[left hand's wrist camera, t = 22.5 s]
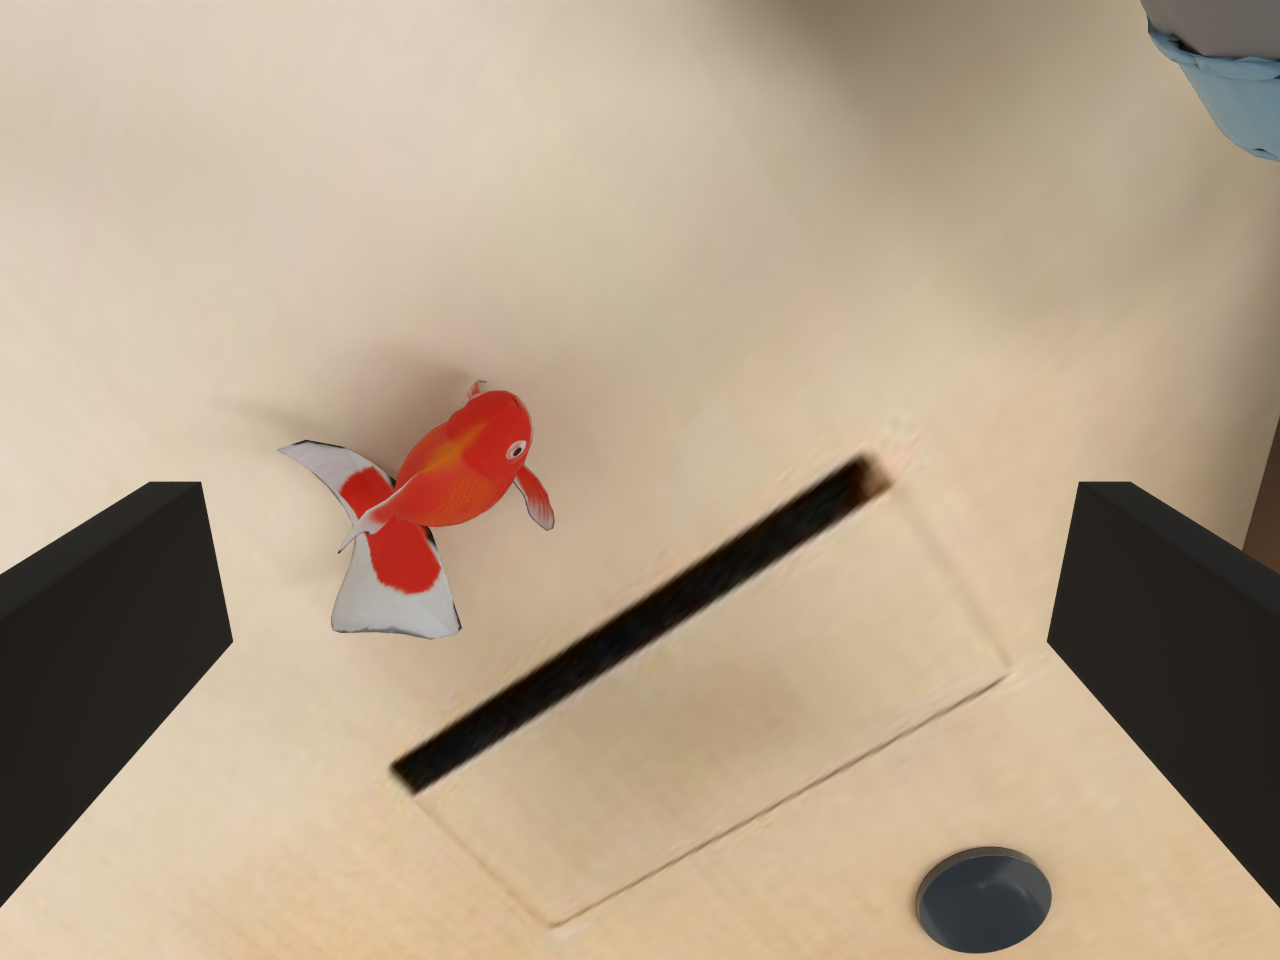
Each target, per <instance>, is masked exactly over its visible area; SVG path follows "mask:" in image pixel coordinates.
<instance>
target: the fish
mask: <svg viewBox="0 0 1280 960" xmlns="http://www.w3.org/2000/svg"><path fill="white" fill-rule="evenodd" d="M478 382H485V383H486V381H483V380H480V379H477V380H476V382H475V383H474V384H473V385H472V387H471V388H470V389H469V391H468V393H467V395H466V398H465V400H464V403H463V406H462V409H460V410H458V411H456V412H455V413H454V414H453V415H452V416H451V418H450V419H449V421H448V422H446V423H444V424H442V425H440V426H438V427H436V428H435V429H433V430H432V431H430V432H429V433H428V434H427V435H426V436H425V437H424V438H423V439H422V440H421V441H420V442H419V443H418V444H417V445H416V446H415V447H414V448H413V450H412V451H411V452H410V454H409V455H408V457H407V458H406V460H405V462H404V464H403V465H402V467H401V469H400V472H399V474H398V478H397V481H395V480H394V479H393V478H392V477H390V476H389V475H388V474H387V473H385V472H384V471H383V470H381V469H380V468H379V467H378V466H376V465H375V464H374V463H372V462H370V461H369V460H367V459H365V458H364V457H362V456H360V455H358V454H356V453H354V452H352V451H350V450H348V449H346V448H344V447H341V446H336V445H330V444H325V443H320V442H315V441H309V440H304V441H301V442H298V443H295V444H292V445H289V446H286V447H283V448H280V449H277V451H279V452H281V453H283V454H285V455H287V456H288V457H290V458H292V459H293V460H295V461H297V462H298V463H300V464H301V465H303V466H304V467H306V468H307V469H309V470H310V471H311V472H312V473H313V474H315V475H316V476H317V477H318V478H319V479H320V480H321V481H322V482H323V483H324V484H326V485H327V486H328V488H329V489H330V490H331V491H332V493H333V494H334V495H335V497H336V498H337V499H338V500H339V502H340V503H341V504H342V505H343V507H344V508H345V510H346V512H347V514H348V516H349V518H350V520H351V522H352V525H353V528H352V530H351V531H350V533H349V535H348V537H347V538H346V540H345V542H344V543H343V545H342V547H341V548H340V550H339V552H338V553H340V552H341V551H342V550H343V549H344V548H345V547H346V546H347V545H348V544H349V543H350V542H351V541H352V540H353V539H354V538H355V537H356V538H355V545H354V550H353V555H352V560H351V565H350V567H349V570H348V572H347V574H346V576H345V579H344V581H343V583H342V586H341V588H340V590H339V593H338V595H337V598H336V602H335V605H334V609H333V612H332V616H331V625H332V628H333V631H337V632H340V633H358V632H381V633H396V634H406V635H411V636H416V637H421V638H426V639H436V638H441V637H446V636H451V635H456V634H457V633H458V632H459V631H460V629H461V628H462V627H461V624H460V621H459V618H458V615H457V612H456V609H455V605H454V602H453V598H452V594H451V590H450V586H449V583H448V580H447V577H446V574H445V571H444V567H443V565H442V562H441V559H440V556H439V553H438V550H437V547H436V544H435V541H434V538H433V535H432V532H431V530H430V529H429V528H428V526H430V527H441V526H450V525H456V524H460V523H463V522H466V521H468V520H471V519H473V518H475V517H476V516H478V515H480V514H482V513H483V512H485V511H487V510H489V509H490V508H491V507H492V506H494V505H495V504H496V503H497V502H498V501H499V500H500V499H501V497H502V496H503V495H504V494H505V492H506V491H507V490H508V488H509V487H510V485H511V484H512V482H514V483H515V485H516V486H517V487H518V489H519V490H520V491H521V493H522V494H523V496H524V498H525V501H526V505H527V509H528V513H529V515H530V516H531V518H532V519H533V520H534V521H535V522H536V523H538V524H539V525H540V526H541V527H542V528H544V529H545V530H551V529H553V526H554V514H553V510H552V508H551V505H550V503H549V498H548V494H547V492H546V490H545V489H544V487H543V486H542V484H541V482H540V481H539V479H538V478H537V477H536V476H535V475H534V474H533V473H532V472H531V471H530V470H529V469H528V468H527V467H526V466H525V465H524V462H525V459H526V456H527V453H528V450H529V448H530V446H531V443H532V438H533V428H532V420H531V416H530V414H529V412H528V410H527V408H526V406H525V404H524V403H523V402H522V401H521V400H520V399H519V398H518V397H517V396H516V395H514V394H512V393H510V392H508V391H487V392H480V391H479V388H478Z"/></svg>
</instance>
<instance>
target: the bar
mask: <svg viewBox="0 0 1280 960" xmlns="http://www.w3.org/2000/svg"><path fill="white" fill-rule="evenodd" d="M1243 552H1244V553H1246V554H1247V555H1249V556H1251V557H1252V558H1254V559H1255V560H1257V561H1259V562H1260V563H1262V564H1263V565H1265V566H1267V567H1268V568H1270V569H1271V570H1273V571H1275V572H1276V573H1278V574H1280V422H1279V425H1278V429H1277V432H1276V436H1275V440H1274V443H1273V447H1272V450H1271V454H1270V457H1269V461H1268V464H1267V468H1266V472H1265V475H1264V479H1263V482H1262V486H1261V489H1260V493H1259V496H1258V500H1257V504H1256V507H1255V511H1254V514H1253V518H1252V521H1251V525H1250V529H1249V532H1248V536H1247V539H1246V543H1245V546H1244V550H1243Z"/></svg>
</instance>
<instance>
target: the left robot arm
mask: <svg viewBox="0 0 1280 960" xmlns="http://www.w3.org/2000/svg"><path fill="white" fill-rule="evenodd" d="M1140 1H1141V3H1142V5H1143V7H1144V9H1145V11H1146V13H1147V19H1148V32H1149V34H1150V36H1151V39H1152V41H1153V42H1154V44H1155V45H1156V46H1157V48H1158V49H1159V50H1160V51H1161V52H1162V53H1163V54H1164V55H1166V56H1167V57H1168V58H1169V59H1170V60H1172V61H1174V62H1176V63H1178V64H1179V65H1180V67H1181V69H1182V70H1183V72H1184V73H1185V75H1186V77H1187V78H1188V80H1189V82H1190V83H1191V85H1192V86H1193V88H1194V90H1195V91H1196V93H1197V94H1198V96H1199V98H1200V99H1201V101H1202V102H1203V104H1204V106H1205V107H1206V109H1207V111H1208V112H1209V114H1210V115H1211V117H1212V119H1213V120H1214V122H1215V123H1216V125H1217V126H1218V128H1219V129H1220V130H1221V131H1222V133H1223V134H1224V135H1225V136H1226V137H1227V138H1228V139H1229V140H1230V141H1232V142H1233V143H1234V144H1236V145H1237V146H1238V147H1240V148H1242V149H1243V150H1245V151H1247V152H1249V153H1250V154H1252V155H1254V156H1258V157H1262V158H1265V159H1269V160H1274V161H1279V162H1280V0H1140ZM232 643H233V638H232V633H231V628H230V623H229V618H228V613H227V608H226V603H225V598H224V593H223V588H222V583H221V579H220V574H219V569H218V564H217V559H216V554H215V549H214V544H213V539H212V534H211V529H210V524H209V519H208V514H207V509H206V504H205V499H204V494H203V489H202V484H201V482H148V483H147V484H145V485H144V486H142V487H140V488H139V489H137V490H136V491H134V492H132V493H131V494H129V495H128V496H126V497H124V498H123V499H121V500H120V501H118V502H116V503H115V504H113V505H111V506H110V507H108V508H107V509H105V510H103V511H102V512H100V513H99V514H97V515H95V516H94V517H92V518H91V519H89V520H87V521H86V522H84V523H83V524H81V525H79V526H78V527H76V528H74V529H73V530H71V531H70V532H68V533H66V534H65V535H63V536H62V537H60V538H58V539H57V540H55V541H54V542H52V543H50V544H49V545H47V546H46V547H44V548H42V549H41V550H39V551H37V552H36V553H34V554H33V555H31V556H29V557H28V558H26V559H25V560H23V561H21V562H20V563H18V564H17V565H15V566H13V567H12V568H10V569H9V570H7V571H5V572H4V573H2V574H0V908H1V906H2V905H3V904H4V903H5V902H6V901H7V900H8V898H9V897H10V896H11V895H12V894H13V893H14V892H15V890H16V889H17V888H18V887H19V886H20V885H21V884H22V882H23V881H24V880H25V879H26V878H27V877H28V876H29V874H30V873H31V872H32V871H33V870H34V869H35V868H36V866H37V865H38V864H39V863H40V862H41V861H42V860H43V858H44V857H45V856H46V855H47V854H48V853H49V852H50V850H51V849H52V848H53V847H54V846H55V845H56V844H57V842H58V841H59V840H60V839H61V838H62V837H63V836H64V834H65V833H66V832H67V831H68V830H69V829H70V828H71V826H72V825H73V824H74V823H75V822H76V821H77V820H78V818H79V817H80V816H81V815H82V814H83V813H84V812H85V810H86V809H87V808H88V807H89V806H90V805H91V804H92V802H93V801H94V800H95V799H96V798H97V797H98V796H99V794H100V793H101V792H102V791H103V790H104V789H105V788H106V786H107V785H108V784H109V783H110V782H111V781H112V780H113V778H114V777H115V776H116V775H117V774H118V773H119V772H120V770H121V769H122V768H123V767H124V766H125V765H126V764H127V762H128V761H129V760H130V759H131V758H132V757H133V756H134V754H135V753H136V752H137V751H138V750H139V749H140V748H141V746H142V745H143V744H144V743H145V742H146V741H147V740H148V738H149V737H150V736H151V735H152V734H153V733H154V732H155V730H156V729H157V728H158V727H159V726H160V725H161V724H162V723H163V721H164V720H165V719H166V718H167V717H168V716H169V715H170V713H171V712H172V711H173V710H174V709H175V708H176V707H177V705H178V704H179V703H180V702H181V701H182V700H183V699H184V697H185V696H186V695H187V694H188V693H189V692H190V691H191V689H192V688H193V687H194V686H195V685H196V684H197V683H198V681H199V680H200V679H201V678H202V677H203V676H204V675H205V673H206V672H207V671H208V670H209V669H210V668H211V667H212V665H213V664H214V663H215V662H216V661H217V660H218V659H219V657H220V656H221V655H222V654H223V653H224V652H225V651H226V649H227V648H228V647H229V646H230V645H231V644H232ZM1047 643H1048V644H1049V645H1050V646H1051V647H1052V648H1053V649H1054V651H1055V652H1056V653H1057V654H1058V655H1059V656H1060V657H1061V659H1062V660H1063V661H1064V662H1065V663H1066V664H1067V665H1068V667H1069V668H1070V669H1071V670H1072V671H1073V672H1074V673H1075V675H1076V676H1077V677H1078V678H1079V679H1080V680H1081V681H1082V683H1083V684H1084V685H1085V686H1086V687H1087V688H1088V689H1089V691H1090V692H1091V693H1092V694H1093V695H1094V696H1095V697H1096V699H1097V700H1098V701H1099V702H1100V703H1101V704H1102V705H1103V707H1104V708H1105V709H1106V710H1107V711H1108V712H1109V713H1110V715H1111V716H1112V717H1113V718H1114V719H1115V720H1116V721H1117V723H1118V724H1119V725H1120V726H1121V727H1122V728H1123V729H1124V731H1125V732H1126V733H1127V734H1128V735H1129V736H1130V737H1131V738H1132V740H1133V741H1134V742H1135V743H1136V744H1137V745H1138V746H1139V748H1140V749H1141V750H1142V751H1143V752H1144V753H1145V754H1146V756H1147V757H1148V758H1149V759H1150V760H1151V761H1152V762H1153V764H1154V765H1155V766H1156V767H1157V768H1158V769H1159V770H1160V772H1161V773H1162V774H1163V775H1164V776H1165V777H1166V778H1167V780H1168V781H1169V782H1170V783H1171V784H1172V785H1173V786H1174V788H1175V789H1176V790H1177V791H1178V792H1179V793H1180V794H1181V796H1182V797H1183V798H1184V799H1185V800H1186V801H1187V802H1188V804H1189V805H1190V806H1191V807H1192V808H1193V809H1194V810H1195V812H1196V813H1197V814H1198V815H1199V816H1200V817H1201V818H1202V820H1203V821H1204V822H1205V823H1206V824H1207V825H1208V826H1209V828H1210V829H1211V830H1212V831H1213V832H1214V833H1215V834H1216V836H1217V837H1218V838H1219V839H1220V840H1221V841H1222V842H1223V844H1224V845H1225V846H1226V847H1227V848H1228V849H1229V850H1230V852H1231V853H1232V854H1233V855H1234V856H1235V857H1236V858H1237V860H1238V861H1239V862H1240V863H1241V864H1242V865H1243V866H1244V868H1245V869H1246V870H1247V871H1248V872H1249V873H1250V874H1251V876H1252V877H1253V878H1254V879H1255V880H1256V881H1257V882H1258V884H1259V885H1260V886H1261V887H1262V888H1263V889H1264V890H1265V892H1266V893H1267V894H1268V895H1269V896H1270V897H1271V898H1272V900H1273V901H1274V902H1275V903H1276V904H1277V905H1278V906H1279V908H1280V574H1278V573H1276V572H1275V571H1273V570H1271V569H1270V568H1268V567H1267V566H1265V565H1263V564H1262V563H1260V562H1259V561H1257V560H1255V559H1254V558H1252V557H1251V556H1249V555H1247V554H1246V553H1244V552H1243V551H1241V550H1239V549H1238V548H1236V547H1234V546H1233V545H1231V544H1230V543H1228V542H1226V541H1225V540H1223V539H1222V538H1220V537H1218V536H1217V535H1215V534H1214V533H1212V532H1210V531H1209V530H1207V529H1206V528H1204V527H1202V526H1201V525H1199V524H1197V523H1196V522H1194V521H1193V520H1191V519H1189V518H1188V517H1186V516H1185V515H1183V514H1181V513H1180V512H1178V511H1177V510H1175V509H1173V508H1172V507H1170V506H1169V505H1167V504H1165V503H1164V502H1162V501H1160V500H1159V499H1157V498H1156V497H1154V496H1152V495H1151V494H1149V493H1148V492H1146V491H1144V490H1143V489H1141V488H1140V487H1138V486H1136V485H1135V484H1133V483H1132V482H1079V484H1078V489H1077V494H1076V499H1075V504H1074V509H1073V514H1072V519H1071V524H1070V529H1069V534H1068V539H1067V544H1066V549H1065V554H1064V559H1063V564H1062V569H1061V574H1060V579H1059V583H1058V588H1057V593H1056V598H1055V603H1054V608H1053V613H1052V618H1051V623H1050V628H1049V633H1048V638H1047Z"/></svg>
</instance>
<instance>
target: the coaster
mask: <svg viewBox="0 0 1280 960" xmlns="http://www.w3.org/2000/svg"><path fill="white" fill-rule="evenodd" d="M1051 900H1052V894H1051V888H1050V884H1049V882H1048V880H1047V878H1046V876H1045V874H1044V873H1043V871H1042V870H1041V868H1040V867H1039V866H1038V865H1037V864H1036V863H1035V862H1034V861H1033V860H1032V859H1030V858H1029V857H1027V856H1025V855H1024V854H1022V853H1019V852H1017V851H1014V850H1010V849H1005V848H997V847H986V848H977V849H972V850H968V851H964V852H961V853H959V854H956V855H954V856H952V857H950V858H948V859H946V860H945V861H943V862H941V863H940V864H939V865H937V866H936V867H935V868H934V869H933V870H932V871H931V872H930V873H929V874H928V875H927V876H926V878H925V879H924V881H923V882H922V884H921V886H920V888H919V891H918V895H917V901H916V907H917V913H918V916H919V919H920V922H921V924H922V926H923V928H924V930H925V931H926V933H927V934H928V935H929V936H930V937H931V938H932V939H933V940H934V941H935V942H937V943H938V944H940V945H942V946H944V947H946V948H948V949H951V950H954V951H958V952H963V953H975V954H977V953H989V952H994V951H999V950H1002V949H1005V948H1008V947H1011V946H1013V945H1015V944H1017V943H1019V942H1021V941H1023V940H1024V939H1026V938H1027V937H1028V936H1030V935H1031V934H1032V933H1033V932H1034V931H1036V930H1037V929H1038V927H1039V926H1040V925H1041V924H1042V923H1043V921H1044V920H1045V918H1046V916H1047V914H1048V912H1049V909H1050V906H1051Z"/></svg>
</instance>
